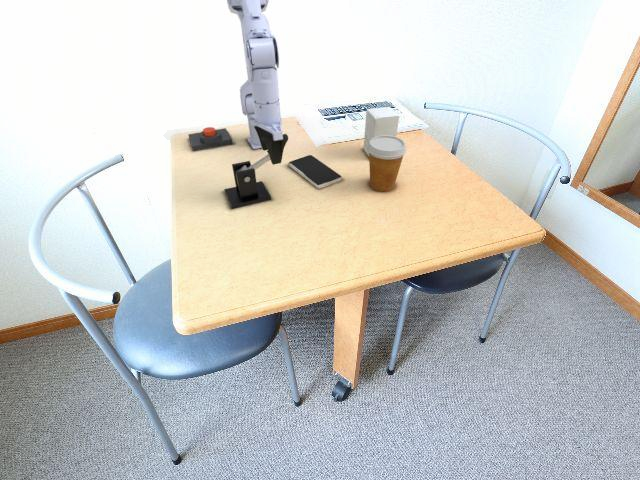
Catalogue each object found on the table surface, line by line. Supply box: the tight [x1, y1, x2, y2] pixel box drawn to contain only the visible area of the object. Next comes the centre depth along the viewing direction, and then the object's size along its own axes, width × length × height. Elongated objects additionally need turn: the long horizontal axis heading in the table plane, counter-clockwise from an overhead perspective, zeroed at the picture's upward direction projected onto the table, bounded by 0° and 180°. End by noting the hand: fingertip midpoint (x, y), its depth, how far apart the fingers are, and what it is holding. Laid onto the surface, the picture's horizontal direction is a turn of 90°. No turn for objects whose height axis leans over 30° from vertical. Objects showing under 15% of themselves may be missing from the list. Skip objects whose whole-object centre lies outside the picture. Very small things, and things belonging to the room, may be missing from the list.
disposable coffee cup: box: [367, 135, 407, 192], centre depth 93 cm, size 10×10×12 cm
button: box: [202, 126, 216, 137], centre depth 113 cm, size 4×4×2 cm
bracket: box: [223, 160, 272, 210], centre depth 91 cm, size 10×8×8 cm
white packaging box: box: [363, 106, 400, 157], centre depth 106 cm, size 7×7×13 cm
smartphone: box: [288, 154, 342, 189], centre depth 102 cm, size 8×1×15 cm
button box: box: [187, 127, 233, 152], centre depth 115 cm, size 12×10×4 cm
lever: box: [236, 150, 271, 172], centre depth 89 cm, size 10×4×2 cm, turn 113°
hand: (271, 156), depth 89 cm, fingers open, 7 cm apart
